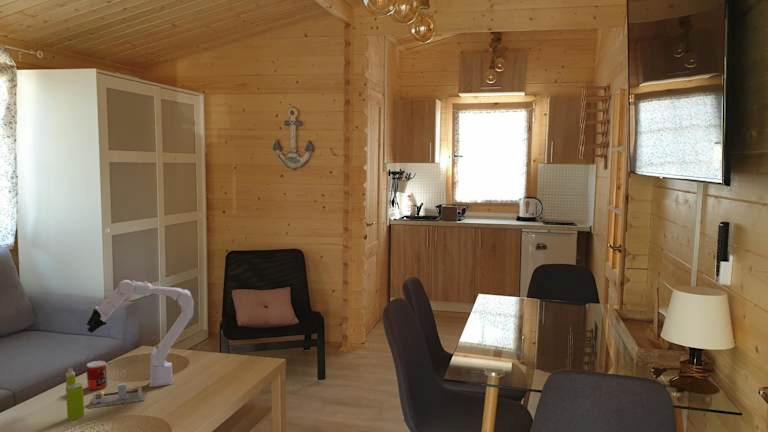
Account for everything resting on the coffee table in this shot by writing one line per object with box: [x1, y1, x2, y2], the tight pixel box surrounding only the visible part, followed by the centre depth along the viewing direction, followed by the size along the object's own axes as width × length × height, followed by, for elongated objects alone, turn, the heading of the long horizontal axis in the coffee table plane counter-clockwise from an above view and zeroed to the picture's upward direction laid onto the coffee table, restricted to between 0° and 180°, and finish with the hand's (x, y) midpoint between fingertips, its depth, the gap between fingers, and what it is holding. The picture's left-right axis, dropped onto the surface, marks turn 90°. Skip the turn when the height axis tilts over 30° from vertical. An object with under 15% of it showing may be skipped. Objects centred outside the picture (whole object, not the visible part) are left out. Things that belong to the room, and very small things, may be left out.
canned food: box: [86, 360, 108, 391], centre depth 257 cm, size 8×8×11 cm
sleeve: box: [117, 382, 128, 398], centre depth 244 cm, size 3×3×5 cm
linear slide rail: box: [88, 387, 146, 409], centre depth 243 cm, size 21×10×4 cm, turn 109°
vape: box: [65, 367, 85, 421], centre depth 226 cm, size 4×6×20 cm, turn 139°
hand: (89, 328), depth 249 cm, fingers open, 7 cm apart
